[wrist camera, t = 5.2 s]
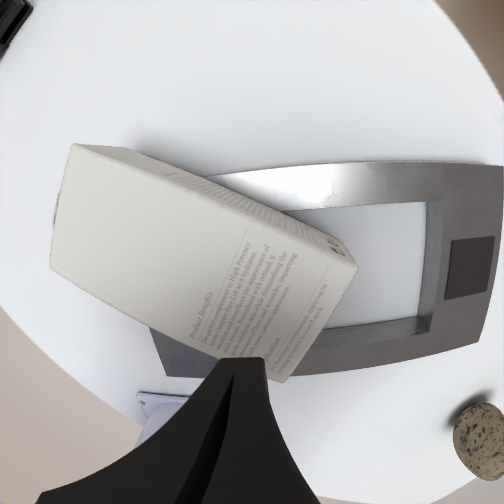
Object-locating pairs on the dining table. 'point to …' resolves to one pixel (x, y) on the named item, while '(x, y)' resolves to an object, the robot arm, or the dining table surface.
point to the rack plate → (435, 263)
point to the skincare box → (195, 258)
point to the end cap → (12, 19)
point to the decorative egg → (481, 440)
